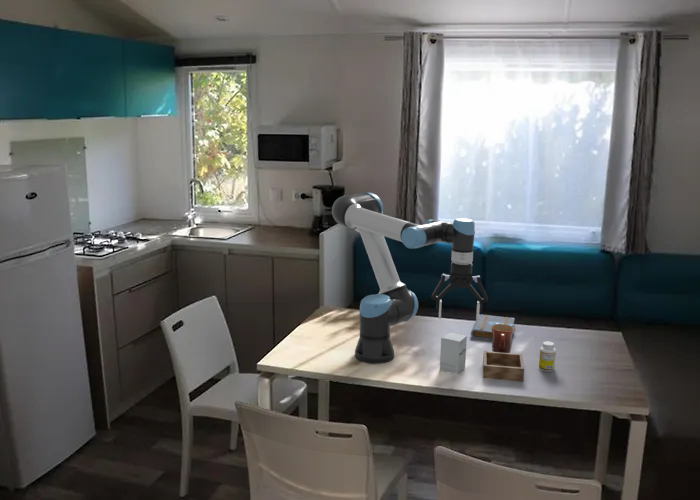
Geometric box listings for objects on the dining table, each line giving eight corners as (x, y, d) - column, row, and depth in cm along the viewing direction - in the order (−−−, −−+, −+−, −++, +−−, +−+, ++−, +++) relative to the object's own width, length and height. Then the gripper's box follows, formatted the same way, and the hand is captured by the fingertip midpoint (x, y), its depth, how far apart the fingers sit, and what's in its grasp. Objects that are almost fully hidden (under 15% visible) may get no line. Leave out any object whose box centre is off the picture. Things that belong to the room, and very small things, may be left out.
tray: (483, 378, 236) (483, 365, 235) (482, 363, 249) (483, 351, 248) (523, 381, 233) (524, 368, 232) (521, 366, 246) (522, 354, 245)
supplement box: (457, 374, 238) (459, 341, 236) (439, 370, 242) (440, 337, 239) (465, 367, 245) (467, 335, 242) (447, 363, 248) (448, 331, 246)
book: (477, 323, 295) (477, 312, 294) (515, 327, 290) (515, 316, 289) (470, 338, 275) (471, 327, 274) (511, 343, 270) (511, 332, 269)
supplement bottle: (543, 365, 248) (545, 339, 245) (557, 369, 244) (559, 343, 241) (535, 369, 244) (537, 343, 242) (549, 373, 240) (551, 347, 238)
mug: (489, 347, 265) (491, 323, 262) (512, 349, 263) (513, 324, 261) (489, 358, 253) (491, 333, 251) (513, 360, 252) (515, 335, 249)
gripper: (426, 263, 233) (424, 320, 238) (498, 266, 231) (494, 324, 236) (426, 258, 241) (424, 313, 246) (496, 261, 238) (492, 317, 243)
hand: (458, 318), depth 241 cm, fingers open, 13 cm apart
